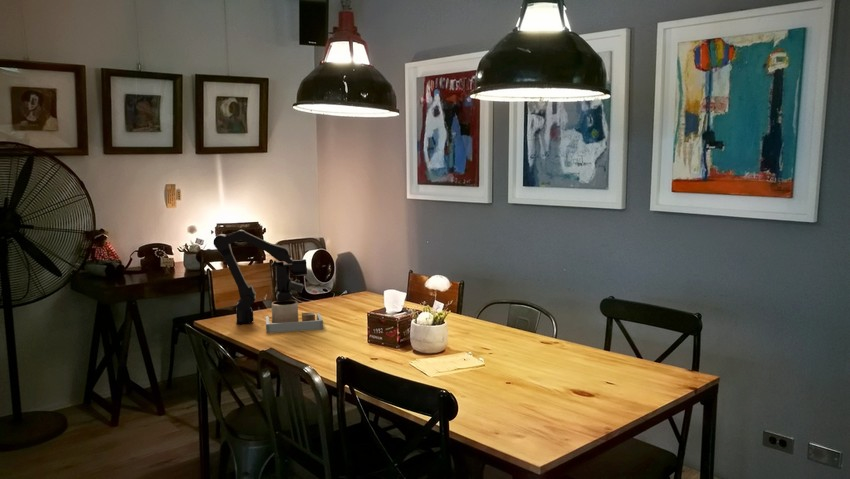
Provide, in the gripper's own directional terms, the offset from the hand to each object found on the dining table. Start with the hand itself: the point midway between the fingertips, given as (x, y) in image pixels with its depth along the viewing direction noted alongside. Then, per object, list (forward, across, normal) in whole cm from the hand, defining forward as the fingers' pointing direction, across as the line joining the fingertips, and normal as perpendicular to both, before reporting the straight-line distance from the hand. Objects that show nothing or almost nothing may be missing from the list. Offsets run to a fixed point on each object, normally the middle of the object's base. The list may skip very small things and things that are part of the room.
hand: (284, 312), depth 290 cm
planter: (+4, -9, 0) cm, 9 cm away
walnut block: (+4, -12, -9) cm, 16 cm away
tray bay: (+4, -13, -3) cm, 14 cm away
